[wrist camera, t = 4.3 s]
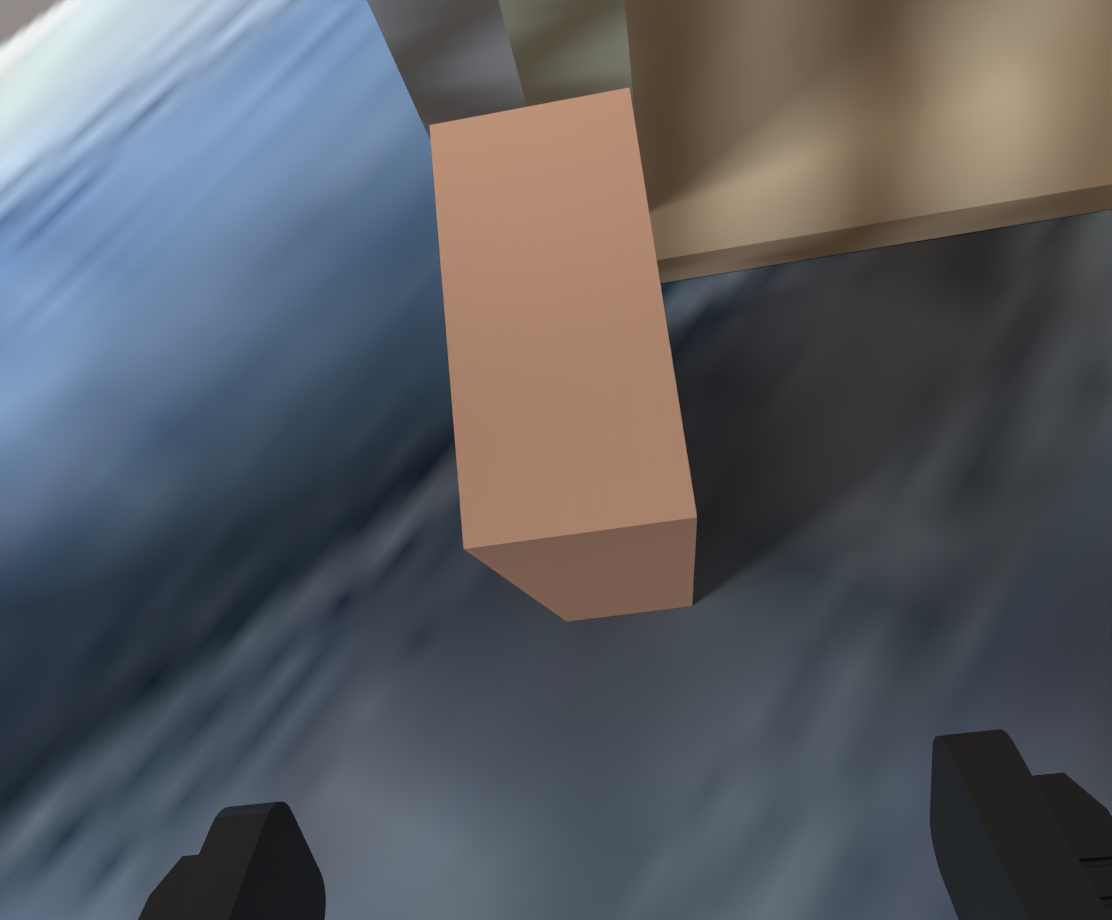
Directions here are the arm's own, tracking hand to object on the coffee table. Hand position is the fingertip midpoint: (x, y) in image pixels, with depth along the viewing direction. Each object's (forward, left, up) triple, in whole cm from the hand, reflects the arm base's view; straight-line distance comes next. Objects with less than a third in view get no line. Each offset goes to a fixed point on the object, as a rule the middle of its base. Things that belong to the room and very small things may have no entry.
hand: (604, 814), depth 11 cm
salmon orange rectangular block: (+7, +3, -13) cm, 15 cm away
